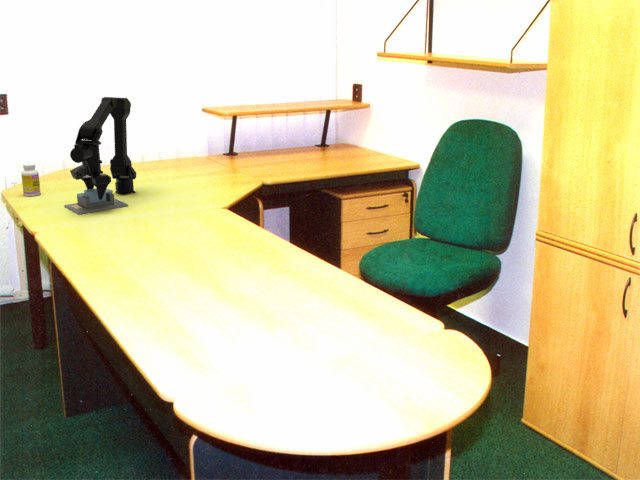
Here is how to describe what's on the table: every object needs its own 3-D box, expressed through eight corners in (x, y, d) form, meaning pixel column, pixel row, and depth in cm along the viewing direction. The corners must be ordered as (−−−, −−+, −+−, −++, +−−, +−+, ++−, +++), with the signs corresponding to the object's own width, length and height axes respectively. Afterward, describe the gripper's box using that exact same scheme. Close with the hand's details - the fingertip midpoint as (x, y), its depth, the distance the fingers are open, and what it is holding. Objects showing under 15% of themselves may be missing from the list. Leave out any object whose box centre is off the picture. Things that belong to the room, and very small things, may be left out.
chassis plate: (112, 199, 292) (111, 186, 290) (128, 206, 281) (127, 193, 280) (64, 207, 279) (63, 194, 278) (78, 214, 269) (77, 201, 267)
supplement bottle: (34, 197, 293) (31, 166, 289) (20, 196, 294) (16, 165, 290) (44, 193, 299) (40, 163, 296) (29, 192, 301) (26, 162, 297)
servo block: (109, 201, 285) (108, 186, 284) (113, 203, 283) (112, 188, 281) (77, 206, 277) (76, 191, 276) (82, 208, 275) (80, 193, 273)
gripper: (62, 156, 276) (66, 195, 281) (81, 164, 263) (85, 205, 267) (89, 153, 283) (93, 191, 288) (110, 160, 270) (113, 200, 274)
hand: (95, 197), depth 279 cm, fingers open, 9 cm apart
